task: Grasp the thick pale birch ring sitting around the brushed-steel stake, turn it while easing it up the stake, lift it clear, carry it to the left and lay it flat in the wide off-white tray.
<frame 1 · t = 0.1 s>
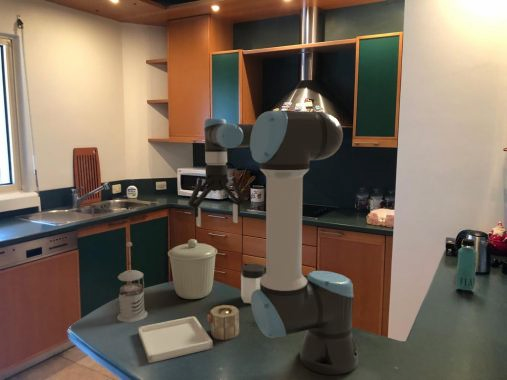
hand: (217, 224, 143), 28 cm above the kitchen counter, fingers open, 13 cm apart
tray: (174, 340, 118), on the kitchen counter
ring: (225, 332, 122), on the kitchen counter
french press: (134, 314, 135), on the kitchen counter
stake: (225, 332, 122), on the kitchen counter
beverage bottle: (464, 291, 154), on the kitchen counter
jar: (253, 299, 147), on the kitchen counter
canister: (193, 294, 152), on the kitchen counter
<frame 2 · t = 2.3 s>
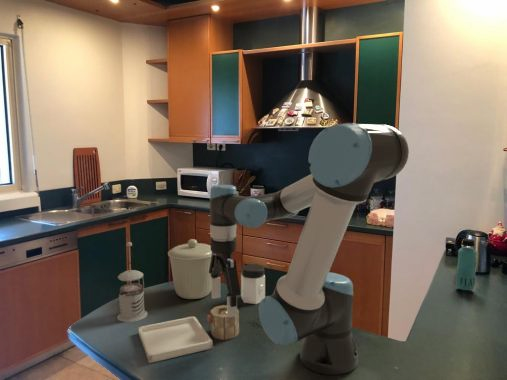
hand: (223, 306, 122), 8 cm above the kitchen counter, fingers open, 13 cm apart
nothing on the kitchen counter moved.
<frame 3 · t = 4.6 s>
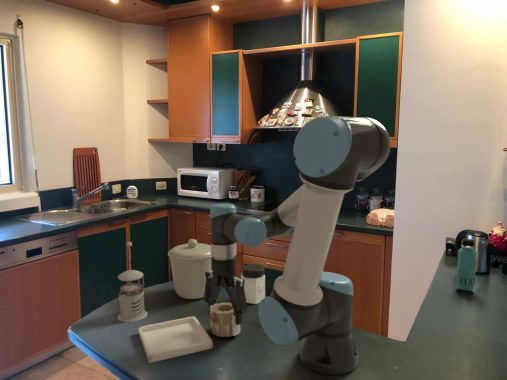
hand: (225, 329, 122), 1 cm above the kitchen counter, fingers closed on ring, 8 cm apart
ring: (225, 330, 122), point 1 cm above the kitchen counter, touching gripper
everything else where it was.
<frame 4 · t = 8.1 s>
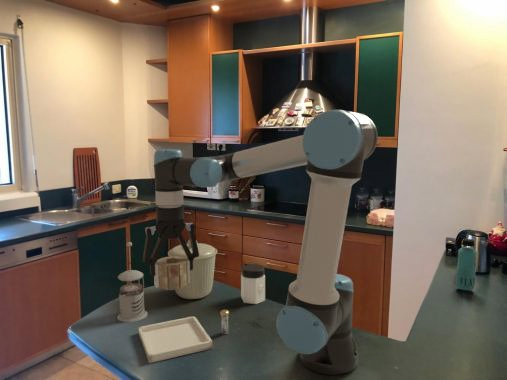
hand: (172, 283, 116), 17 cm above the kitchen counter, fingers closed on ring, 8 cm apart
ring: (172, 284, 116), point 17 cm above the kitchen counter, touching gripper
everything else where it was.
when the fingers open (2 cm above the kitchen counter, at t = 11.5 s): ring drops 2 cm, resting on tray.
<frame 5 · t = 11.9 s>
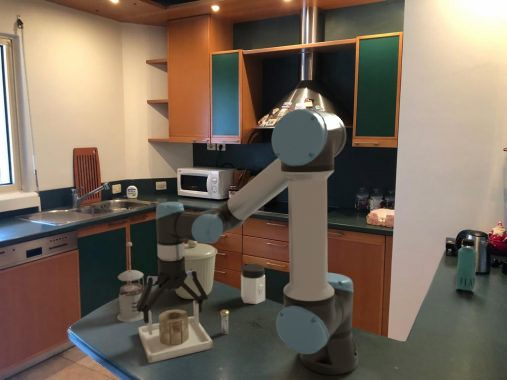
hand: (173, 327, 117), 4 cm above the kitchen counter, fingers open, 13 cm apart
ring: (174, 338, 118), point 1 cm above the kitchen counter, touching tray
everything else where it was.
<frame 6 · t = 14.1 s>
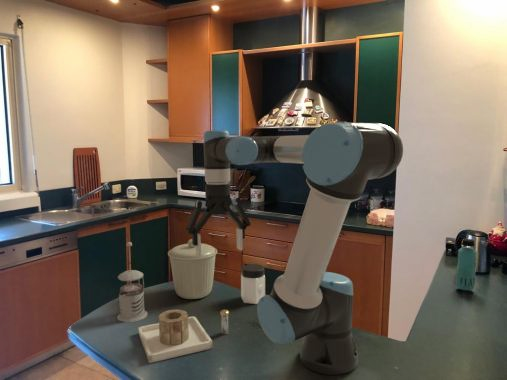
hand: (219, 252, 123), 24 cm above the kitchen counter, fingers open, 13 cm apart
nothing on the kitchen counter moved.
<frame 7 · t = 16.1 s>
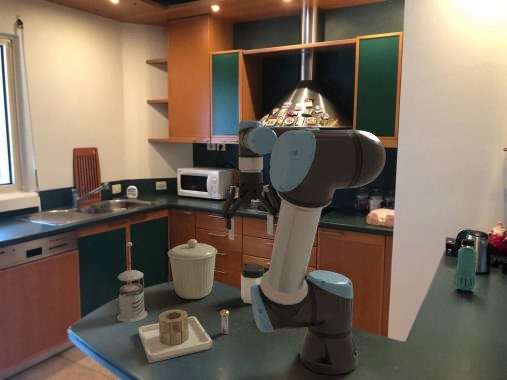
hand: (251, 237, 130), 27 cm above the kitchen counter, fingers open, 13 cm apart
nothing on the kitchen counter moved.
at the end: ring inside the target area on the tray (0.2 cm from its centre), point 0.6 cm above the tray's base; ring tilted 0°; the gripper is holding nothing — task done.
